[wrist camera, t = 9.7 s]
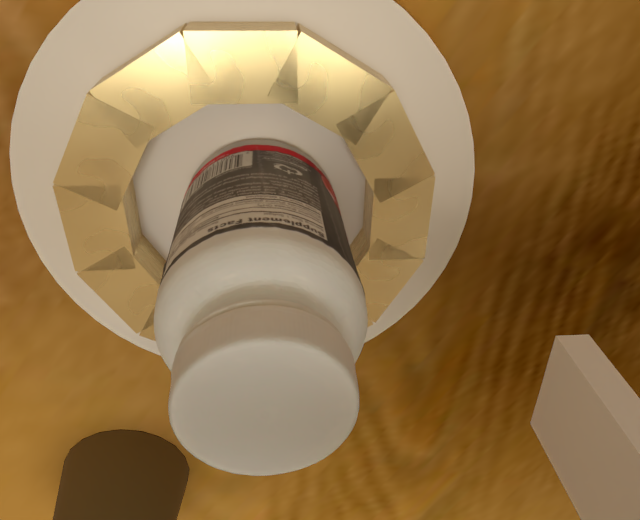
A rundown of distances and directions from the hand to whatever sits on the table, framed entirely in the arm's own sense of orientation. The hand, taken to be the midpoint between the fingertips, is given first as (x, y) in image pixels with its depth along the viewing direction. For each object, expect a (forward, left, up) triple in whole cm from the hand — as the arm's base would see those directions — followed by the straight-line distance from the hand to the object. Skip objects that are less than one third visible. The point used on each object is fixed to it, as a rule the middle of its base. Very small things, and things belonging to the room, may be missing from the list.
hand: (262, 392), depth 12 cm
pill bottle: (0, 0, -9) cm, 9 cm away
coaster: (0, 0, -10) cm, 10 cm away
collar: (0, 0, -10) cm, 10 cm away
